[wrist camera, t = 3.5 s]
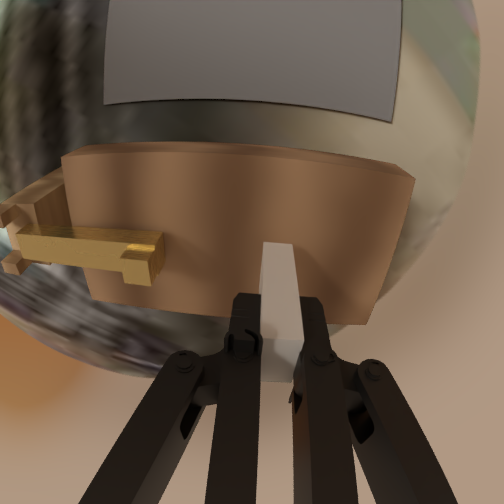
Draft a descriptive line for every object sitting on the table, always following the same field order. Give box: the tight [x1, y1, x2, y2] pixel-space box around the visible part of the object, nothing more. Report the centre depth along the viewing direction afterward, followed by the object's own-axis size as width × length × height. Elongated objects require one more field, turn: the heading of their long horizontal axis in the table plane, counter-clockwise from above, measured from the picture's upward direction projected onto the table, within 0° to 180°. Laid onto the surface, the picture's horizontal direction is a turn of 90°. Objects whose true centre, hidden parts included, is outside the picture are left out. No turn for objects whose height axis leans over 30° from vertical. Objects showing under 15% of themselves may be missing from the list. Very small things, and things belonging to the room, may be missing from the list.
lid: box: [61, 142, 415, 325], centre depth 19 cm, size 21×11×4 cm, turn 86°
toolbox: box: [0, 167, 72, 275], centre depth 20 cm, size 28×8×11 cm, turn 86°
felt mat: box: [104, 0, 401, 122], centre depth 17 cm, size 24×12×1 cm, turn 86°
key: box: [16, 224, 166, 286], centre depth 15 cm, size 11×2×3 cm, turn 86°
